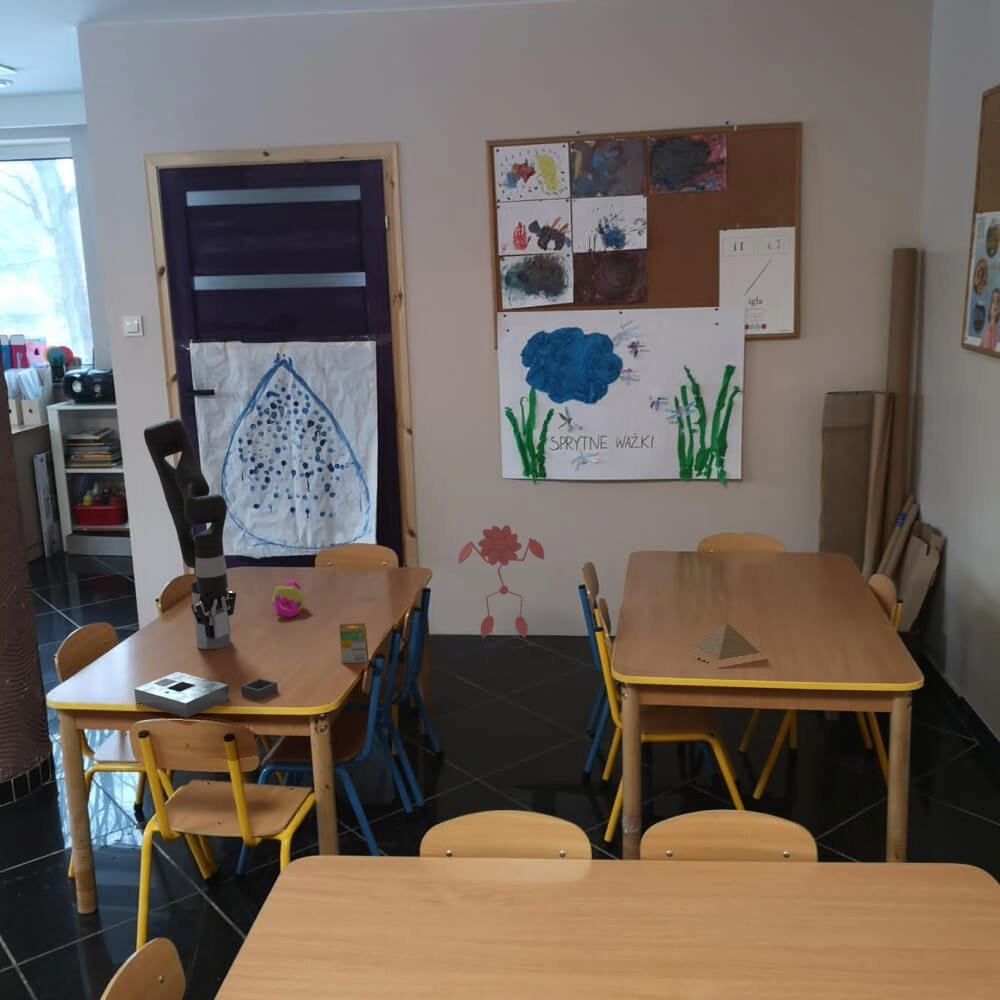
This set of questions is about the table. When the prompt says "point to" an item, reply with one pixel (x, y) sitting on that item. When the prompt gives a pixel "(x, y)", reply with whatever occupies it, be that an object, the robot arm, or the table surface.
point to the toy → (288, 599)
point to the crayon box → (353, 643)
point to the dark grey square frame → (255, 692)
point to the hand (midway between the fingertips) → (217, 635)
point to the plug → (219, 630)
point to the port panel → (182, 694)
